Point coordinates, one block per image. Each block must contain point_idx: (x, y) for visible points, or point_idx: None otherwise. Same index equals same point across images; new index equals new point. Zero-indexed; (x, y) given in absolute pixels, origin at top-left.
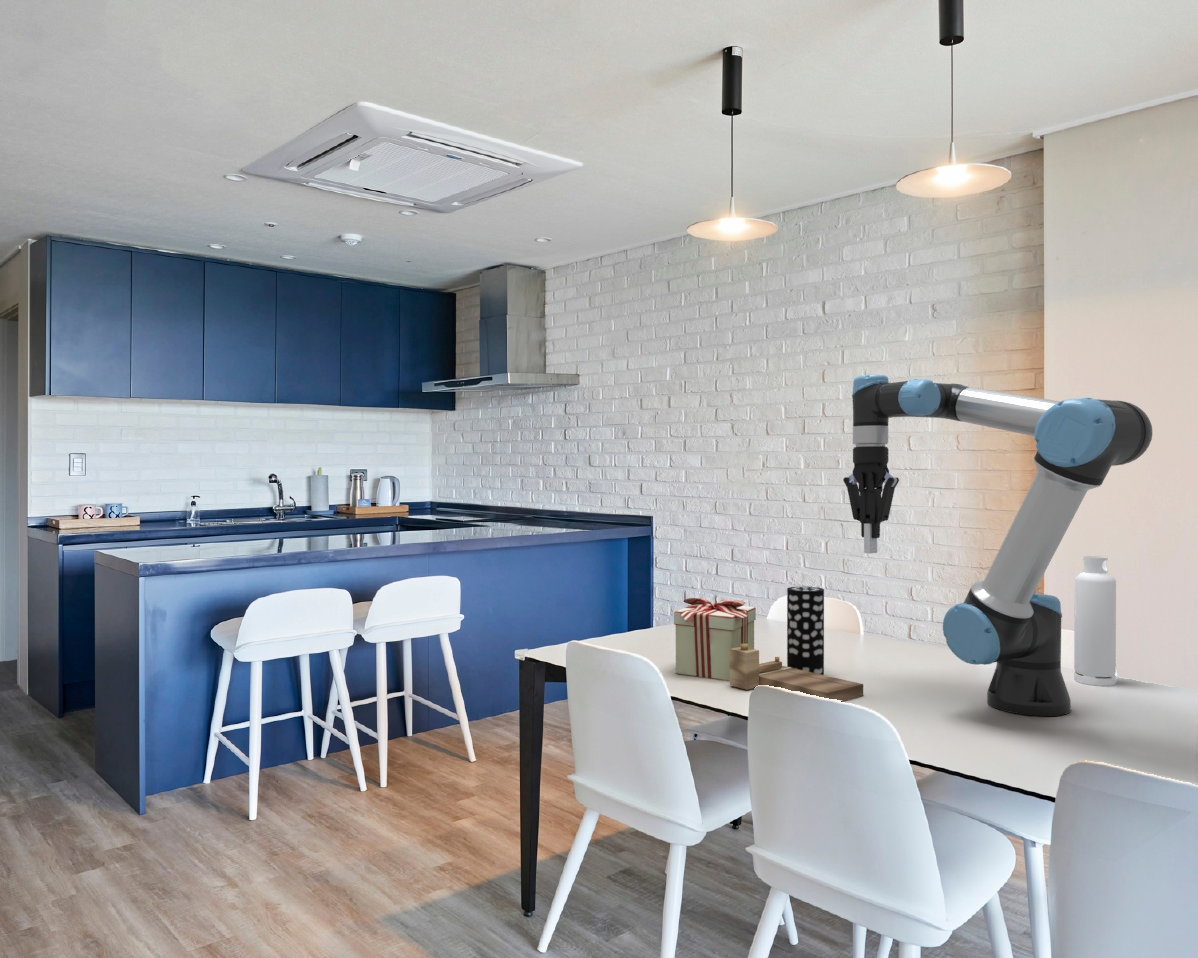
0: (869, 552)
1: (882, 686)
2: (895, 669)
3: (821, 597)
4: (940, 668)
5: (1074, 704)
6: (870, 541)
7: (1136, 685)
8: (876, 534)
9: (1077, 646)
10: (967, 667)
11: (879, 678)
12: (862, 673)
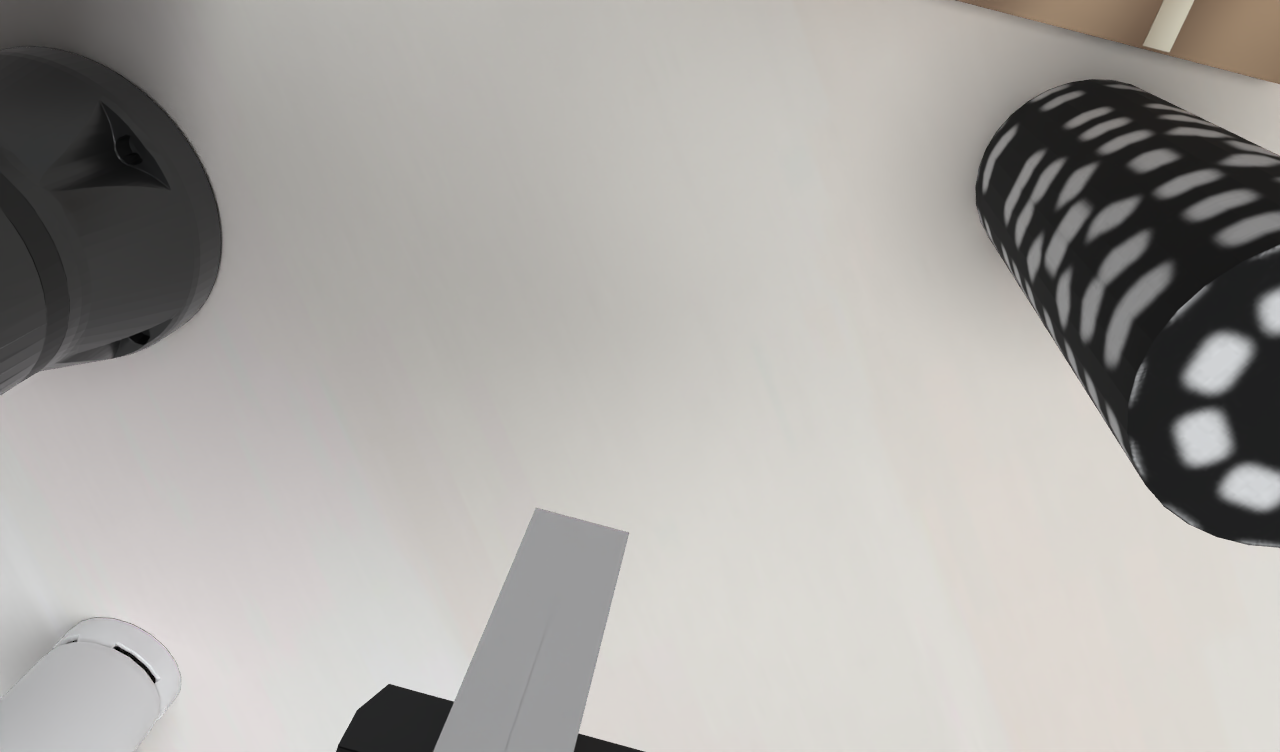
0: (536, 516)
1: (654, 178)
2: (724, 514)
3: (1114, 349)
4: None
5: None
6: (484, 638)
7: None
8: (345, 738)
9: (70, 735)
10: None
11: (723, 321)
12: (824, 370)
